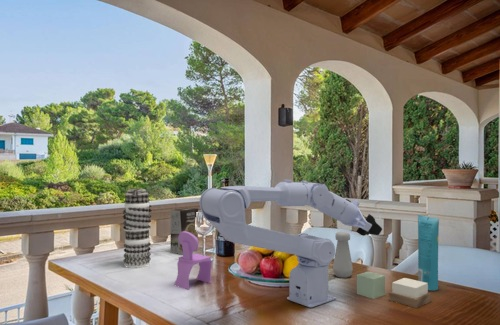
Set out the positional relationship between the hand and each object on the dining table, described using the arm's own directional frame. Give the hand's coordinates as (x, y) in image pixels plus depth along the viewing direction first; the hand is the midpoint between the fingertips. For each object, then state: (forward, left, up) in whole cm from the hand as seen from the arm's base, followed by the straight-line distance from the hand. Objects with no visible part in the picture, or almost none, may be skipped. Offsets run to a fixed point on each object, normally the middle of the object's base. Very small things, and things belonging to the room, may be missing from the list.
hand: (370, 225), depth 112 cm
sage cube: (-6, -4, -17) cm, 18 cm away
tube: (+10, -11, -17) cm, 22 cm away
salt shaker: (+2, +11, -17) cm, 20 cm away
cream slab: (-3, -13, -15) cm, 20 cm away
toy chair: (-36, +33, -17) cm, 52 cm away
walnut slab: (-3, -13, -17) cm, 22 cm away
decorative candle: (-39, +63, -17) cm, 76 cm away
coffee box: (-17, +70, -17) cm, 74 cm away
